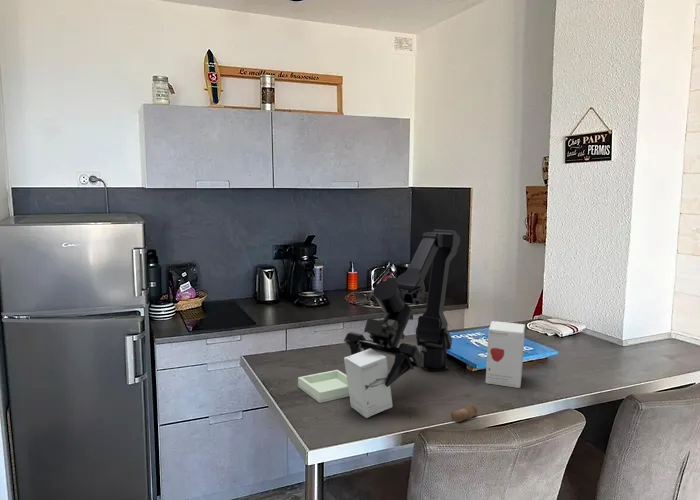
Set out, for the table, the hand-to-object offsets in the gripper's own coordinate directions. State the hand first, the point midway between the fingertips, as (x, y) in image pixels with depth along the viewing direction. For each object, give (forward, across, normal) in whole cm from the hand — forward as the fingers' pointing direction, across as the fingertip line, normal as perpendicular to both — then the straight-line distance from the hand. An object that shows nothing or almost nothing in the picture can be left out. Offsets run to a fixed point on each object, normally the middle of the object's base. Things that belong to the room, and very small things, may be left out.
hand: (368, 381), depth 122 cm
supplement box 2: (-22, +19, +32) cm, 43 cm away
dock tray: (+1, -15, +9) cm, 17 cm away
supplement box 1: (+4, 0, +6) cm, 7 cm away
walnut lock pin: (-2, +20, +12) cm, 23 cm away
